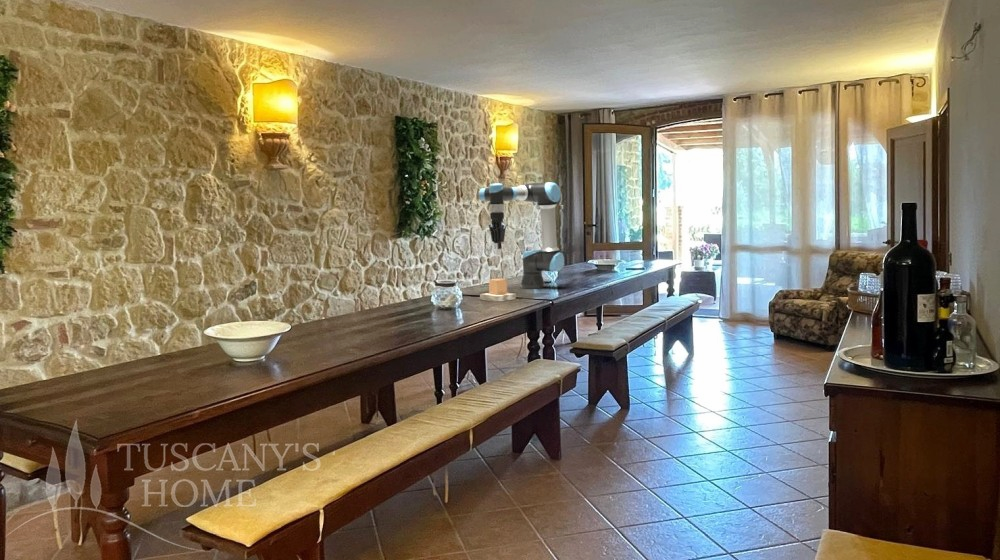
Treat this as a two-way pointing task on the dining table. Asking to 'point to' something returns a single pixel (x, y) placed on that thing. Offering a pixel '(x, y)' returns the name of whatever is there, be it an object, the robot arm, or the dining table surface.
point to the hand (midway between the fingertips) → (498, 254)
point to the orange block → (498, 286)
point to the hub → (498, 297)
